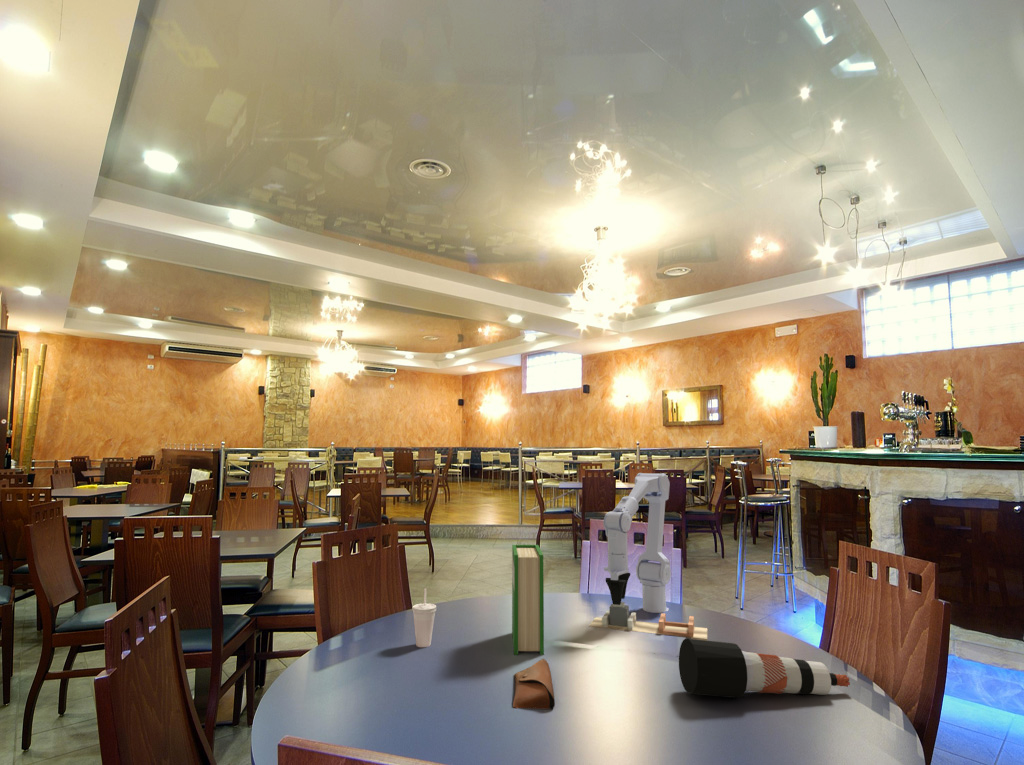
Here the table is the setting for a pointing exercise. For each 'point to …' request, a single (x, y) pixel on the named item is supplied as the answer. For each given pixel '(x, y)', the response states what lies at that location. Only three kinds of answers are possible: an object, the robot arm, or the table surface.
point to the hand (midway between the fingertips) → (618, 601)
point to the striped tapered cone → (749, 671)
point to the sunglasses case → (534, 687)
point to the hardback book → (527, 599)
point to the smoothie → (423, 622)
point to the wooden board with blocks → (655, 626)
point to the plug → (619, 614)
